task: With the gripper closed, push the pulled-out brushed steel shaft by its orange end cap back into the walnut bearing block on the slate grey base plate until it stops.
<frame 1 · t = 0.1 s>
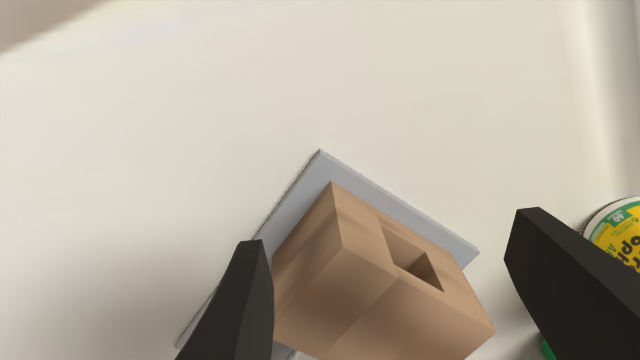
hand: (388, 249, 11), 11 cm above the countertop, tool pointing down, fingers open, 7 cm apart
supplement bottle: (618, 228, 25), on the countertop
bearing block: (362, 248, 24), resting on base plate
base plate: (320, 295, 26), on the countertop
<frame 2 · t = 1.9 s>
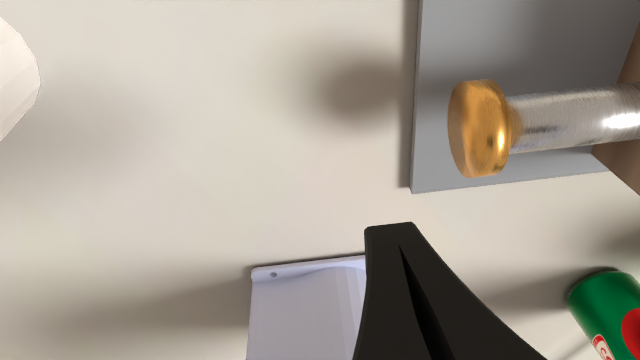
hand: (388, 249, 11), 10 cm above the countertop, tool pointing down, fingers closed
shaft: (582, 116, 17), point 4 cm above the countertop, slide at 7.0 cm
soda can: (594, 286, 31), on the countertop
base plate: (582, 73, 20), on the countertop
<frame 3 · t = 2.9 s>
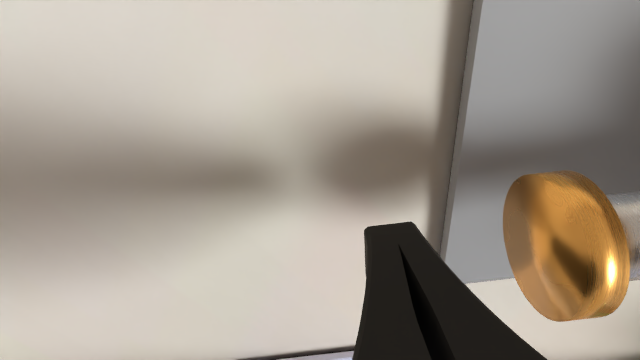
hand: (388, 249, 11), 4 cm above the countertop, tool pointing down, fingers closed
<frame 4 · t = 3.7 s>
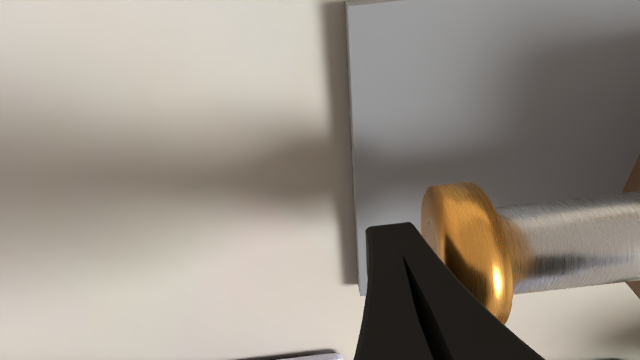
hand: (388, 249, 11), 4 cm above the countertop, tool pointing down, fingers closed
shaft: (618, 236, 11), point 4 cm above the countertop, slide at 6.1 cm, touching gripper
base plate: (585, 152, 14), on the countertop
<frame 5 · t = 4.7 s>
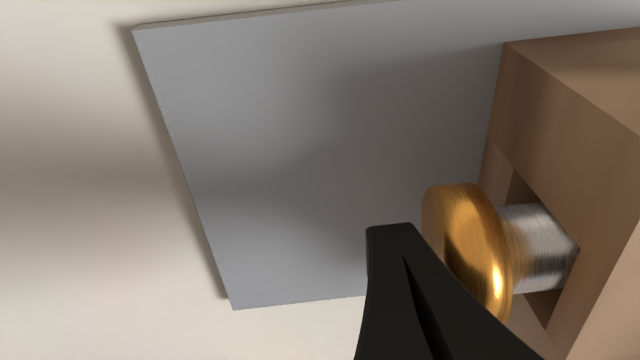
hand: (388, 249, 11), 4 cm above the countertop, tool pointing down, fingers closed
shaft: (618, 236, 11), point 4 cm above the countertop, slide at 0.5 cm, touching gripper
bearing block: (554, 155, 14), resting on base plate
base plate: (431, 169, 14), on the countertop
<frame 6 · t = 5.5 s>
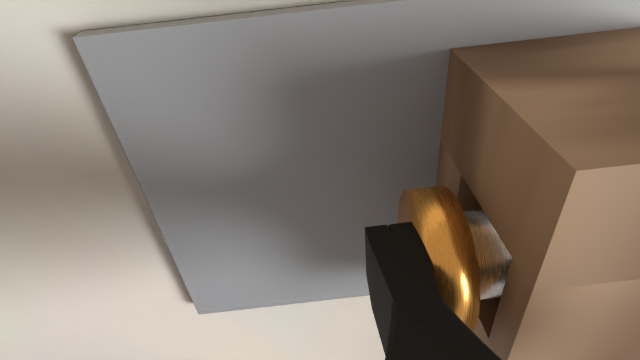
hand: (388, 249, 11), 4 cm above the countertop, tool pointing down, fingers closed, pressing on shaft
shaft: (593, 240, 11), point 4 cm above the countertop, slide at -0.3 cm, touching gripper
bearing block: (513, 160, 14), resting on base plate
base plate: (389, 174, 14), on the countertop
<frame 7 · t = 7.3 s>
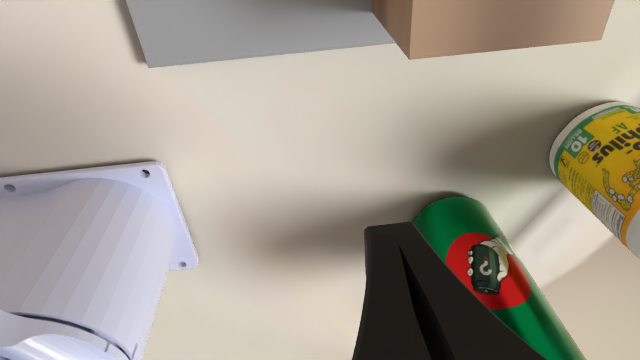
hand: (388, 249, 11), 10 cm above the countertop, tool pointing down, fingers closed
soda can: (445, 219, 26), on the countertop
supplement bottle: (591, 140, 23), on the countertop
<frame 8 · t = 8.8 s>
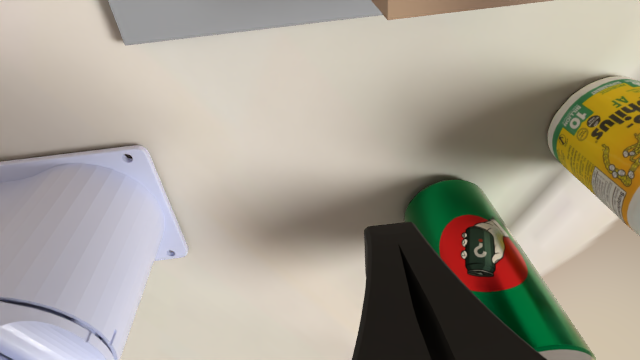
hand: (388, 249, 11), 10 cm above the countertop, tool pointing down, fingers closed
soda can: (440, 204, 25), on the countertop
supplement bottle: (591, 118, 22), on the countertop
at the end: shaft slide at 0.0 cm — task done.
